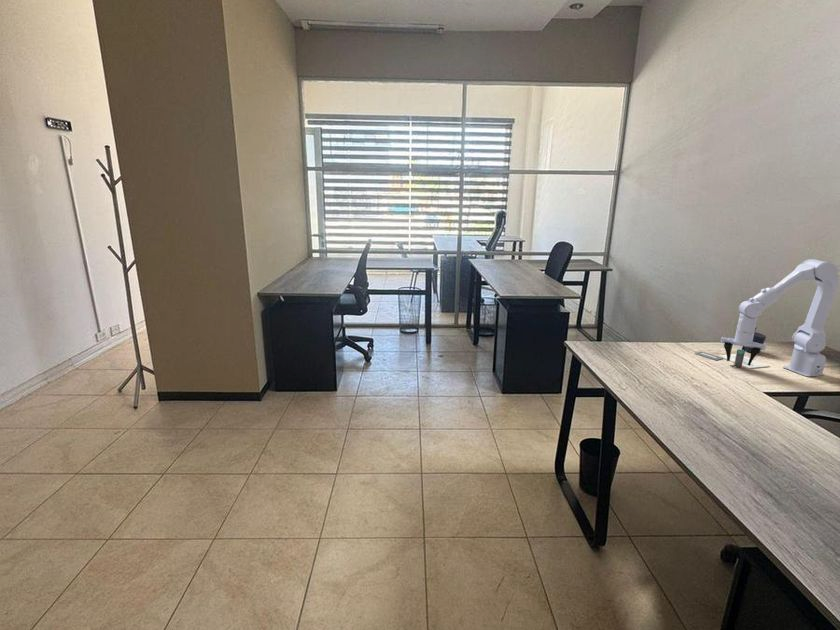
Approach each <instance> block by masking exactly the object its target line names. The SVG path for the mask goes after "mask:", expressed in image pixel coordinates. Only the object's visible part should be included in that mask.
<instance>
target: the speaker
mask: <svg viewBox="0 0 840 630" xmlns="http://www.w3.org/2000/svg"><path fill="white" fill-rule="evenodd" d="M756 330H757V327H756V328H755V332H754V337H753V341H752V342H756V343H760V344H764V343H765V341H766V338H767V336H766V335H765V334H763V333H759V332H756ZM741 349H742V350H745V352H746V351H747V352H749V353H751V350H752V348H750V347H745V346H741ZM761 351H762V350H761V349H760V352H759V353H758V354H760V353H761Z"/></svg>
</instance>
